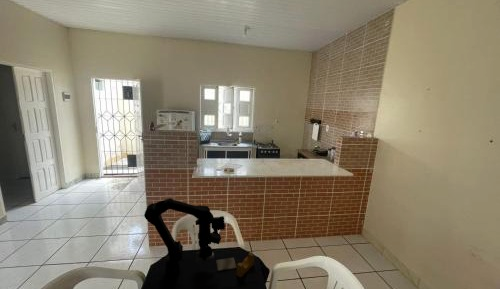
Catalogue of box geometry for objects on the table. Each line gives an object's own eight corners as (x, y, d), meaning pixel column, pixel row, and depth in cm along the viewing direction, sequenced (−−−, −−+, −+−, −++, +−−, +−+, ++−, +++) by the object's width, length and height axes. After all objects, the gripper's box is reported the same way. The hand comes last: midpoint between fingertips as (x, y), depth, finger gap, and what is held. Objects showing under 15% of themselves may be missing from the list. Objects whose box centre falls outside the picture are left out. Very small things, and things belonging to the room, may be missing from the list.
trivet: (217, 271, 114) (218, 270, 114) (216, 260, 121) (216, 260, 121) (236, 268, 116) (236, 267, 116) (233, 258, 124) (233, 257, 124)
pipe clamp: (247, 261, 122) (247, 251, 121) (253, 264, 120) (254, 254, 119) (234, 274, 112) (234, 262, 111) (240, 277, 110) (241, 266, 109)
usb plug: (196, 263, 112) (196, 256, 111) (196, 258, 116) (196, 251, 115) (214, 260, 114) (214, 253, 114) (213, 255, 118) (213, 249, 117)
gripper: (222, 239, 106) (221, 267, 108) (217, 220, 123) (217, 245, 126) (199, 242, 103) (199, 271, 105) (197, 222, 120) (197, 247, 123)
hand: (204, 257), depth 115 cm, fingers closed on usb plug, 4 cm apart
